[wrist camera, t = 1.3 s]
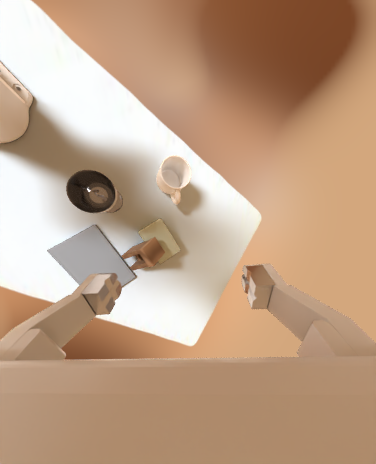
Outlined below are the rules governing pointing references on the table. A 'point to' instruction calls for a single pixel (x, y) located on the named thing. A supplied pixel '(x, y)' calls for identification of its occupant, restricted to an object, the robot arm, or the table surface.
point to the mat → (90, 256)
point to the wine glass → (93, 192)
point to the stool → (145, 253)
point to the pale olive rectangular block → (160, 238)
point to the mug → (173, 176)
